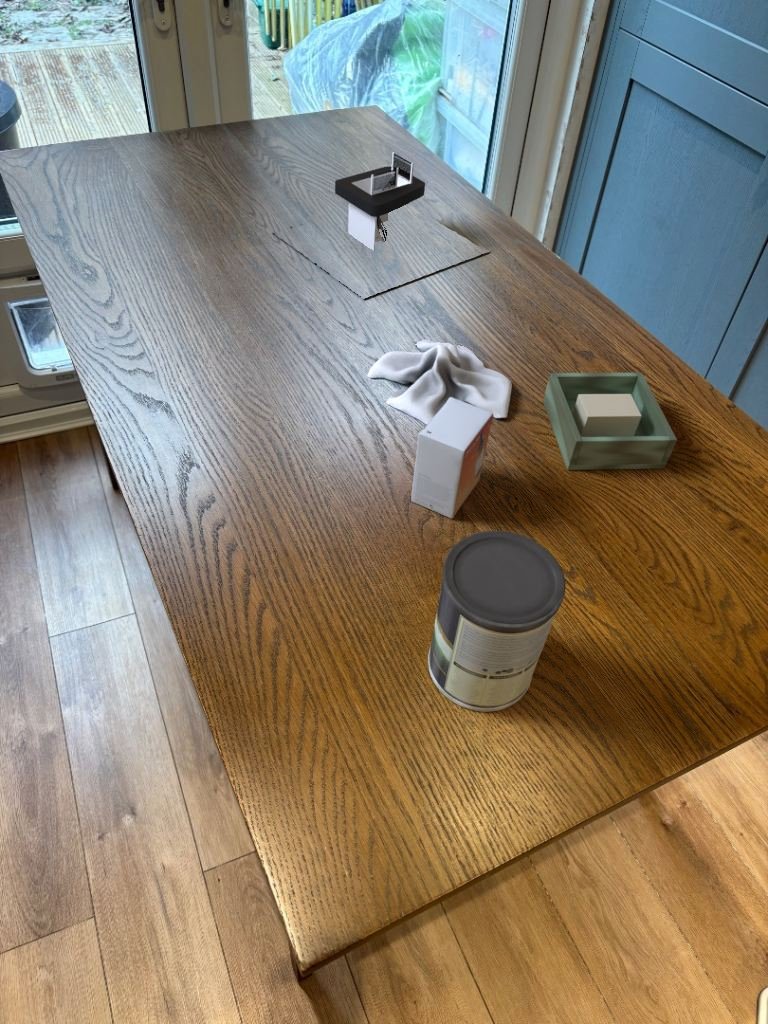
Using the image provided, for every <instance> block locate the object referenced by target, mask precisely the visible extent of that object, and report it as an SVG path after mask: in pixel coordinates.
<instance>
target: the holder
mask: <svg viewBox="0 0 768 1024" xmlns="http://www.w3.org/2000/svg"><path fill="white" fill-rule="evenodd" d="M578 394H631V395H632V397H633V399H634V401H635V403H636V406H637V408H638V410H639V412H640V414H641V419H640V421H639V424H638V427H637V429H636V432H635V434H634V436H628V437H581V436H580V433H579V431H578V428H577V426H576V423H575V421H574V418H573V416H572V414H573V411H574V407H575V404H576V401H577V398H578ZM542 404H543V406H544V409H545V412H546V415H547V417H548V419H549V420H548V421H549V423H550V426H551V429H552V431H553V434H554V437H555V440H556V442H557V445H558V448H559V451H560V454H561V457H562V459H563V462H564V465H565V468H566V470H567V471H588V470H589V471H590V470H591V471H593V470H594V471H595V470H597V471H598V470H649V469H650V470H652V469H665V467H666V465H667V463H668V461H669V459H670V457H671V454H672V452H673V451H674V448H675V446H676V444H677V441H678V439H677V437H676V435H675V433H674V431H673V430H672V427H671V425H670V424H669V422H668V420H667V418H666V416H665V414H664V412H663V410H662V408H661V406H660V404H659V403H658V400H657V399H656V397H655V395H654V393H653V391H652V389H651V387H650V385H649V383H648V382H647V379H646V378H645V376H644V374H643V372H550V373H549V377H548V379H547V384H546V388H545V392H544V395H543V400H542Z"/></svg>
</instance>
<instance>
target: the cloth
mask: <svg viewBox="0 0 768 1024" xmlns="http://www.w3.org/2000/svg"><path fill="white" fill-rule="evenodd" d="M415 345H417V347H416V348H417V349H419V350H421V352H419V351H416V352H415V351H414V352H412V351H400V350H396V351H395V350H394V351H388V352H386V353H384V354H383V355H382V356H381V357H380V358H379V359H378V360H376V362H375V363H373V365H371V367H370V369H369V370H368V373H367V378H370V379H377V378H384V379H387V380H389V381H394V382H397V383H399V384H403V385H405V384H410V383H412V384H411V385H410V386H408V387H403V388H400V389H398V390H397V391H395V392H392V393H391V394H390V395H389V397H387V399H386V402H385V404H386V405H388V406H391V407H392V408H395V409H397V410H399V411H401V412H402V413H405V414H407V415H409V416H410V417H413V418H415V419H417V420H418V421H420V422H421V423H423V424H425V426H426V425H427V424H428V423H429V422H430V421H431V420H432V419H433V417H434V416H435V415H436V414H437V413H438V412H439V410H440V409H441V408H442V407H443V405H444V404H445V403H446V402H447V400H448V399H449V398H450V397H452V398H455V399H457V400H460V401H463V402H465V403H468V404H470V405H473V406H475V407H478V408H481V409H483V410H486V411H488V412H491V413H493V418H495V419H503V418H504V419H505V418H508V413H509V407H510V401H511V396H512V395H511V394H512V390H513V385H512V381H511V379H510V378H508V377H506V376H505V375H504V374H502V373H500V372H498V371H496V370H494V369H491V368H488V367H485V365H484V363H483V362H482V361H481V360H480V359H479V358H478V356H476V354H475V353H474V352H473V351H472V350H470V349H469V348H468V347H466V346H465V347H464V345H463V346H460V345H458V346H459V347H460V348H459V347H458V346H457V347H456V346H455V345H452V344H450V343H440V342H436V343H435V342H433V341H430V340H426V339H425V340H422V341H419V342H417V344H415Z"/></svg>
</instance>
